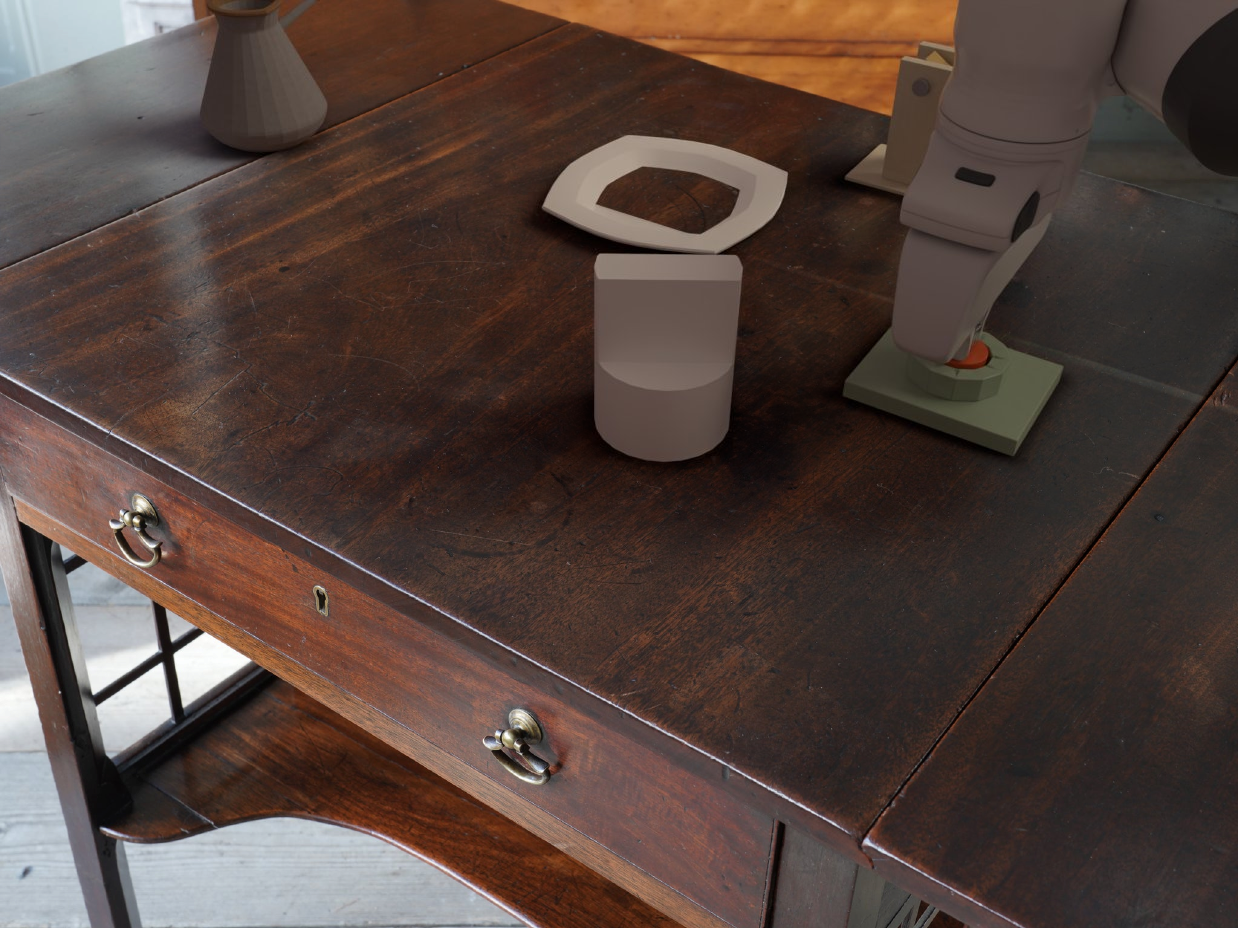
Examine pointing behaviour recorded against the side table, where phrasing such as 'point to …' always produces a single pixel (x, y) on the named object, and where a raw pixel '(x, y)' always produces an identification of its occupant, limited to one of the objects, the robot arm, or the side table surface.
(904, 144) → the bracket
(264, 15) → the coffee pot
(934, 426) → the button housing
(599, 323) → the cylinder with rectangular tab
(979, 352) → the lamp button
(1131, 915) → the side table surface
